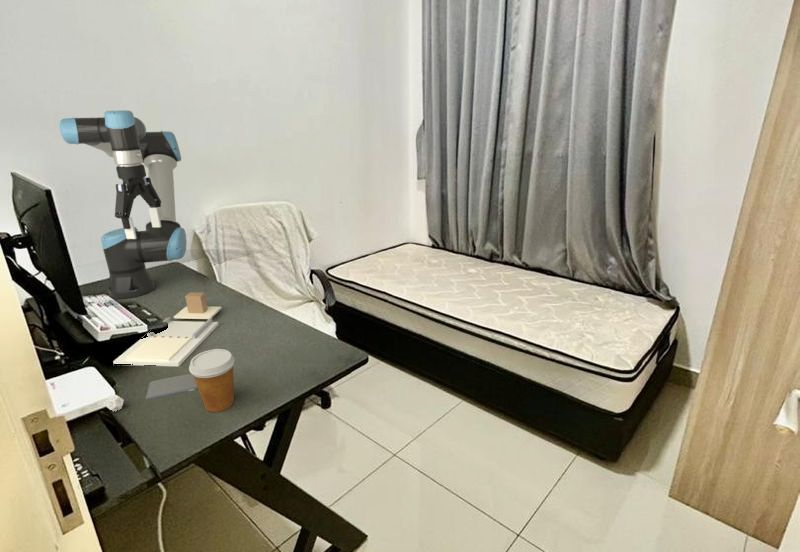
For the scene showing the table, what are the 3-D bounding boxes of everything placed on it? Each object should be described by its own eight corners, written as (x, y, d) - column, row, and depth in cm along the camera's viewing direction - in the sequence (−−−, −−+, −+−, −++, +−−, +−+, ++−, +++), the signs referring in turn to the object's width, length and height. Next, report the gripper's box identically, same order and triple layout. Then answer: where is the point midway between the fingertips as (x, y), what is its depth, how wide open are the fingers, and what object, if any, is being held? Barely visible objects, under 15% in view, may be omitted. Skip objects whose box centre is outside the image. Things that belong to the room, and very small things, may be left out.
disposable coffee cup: (249, 402, 106) (241, 357, 102) (209, 422, 99) (200, 375, 95) (228, 386, 112) (220, 343, 108) (189, 405, 105) (180, 359, 101)
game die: (104, 410, 104) (100, 399, 103) (120, 402, 107) (117, 391, 106) (112, 415, 102) (109, 404, 101) (129, 406, 105) (126, 395, 104)
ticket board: (163, 323, 145) (162, 317, 144) (218, 324, 143) (217, 318, 142) (113, 364, 122) (111, 357, 121) (178, 366, 121) (177, 358, 120)
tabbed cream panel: (186, 307, 153) (183, 289, 150) (221, 308, 152) (218, 290, 149) (174, 318, 145) (169, 299, 143) (210, 319, 144) (207, 299, 142)
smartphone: (149, 381, 114) (213, 368, 119) (150, 384, 114) (214, 371, 119) (144, 398, 107) (212, 384, 112) (145, 402, 108) (213, 387, 112)
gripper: (114, 170, 126) (131, 244, 134) (164, 159, 150) (176, 222, 157) (88, 170, 127) (107, 243, 134) (142, 159, 150) (155, 222, 158)
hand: (144, 232), depth 146 cm, fingers open, 13 cm apart
